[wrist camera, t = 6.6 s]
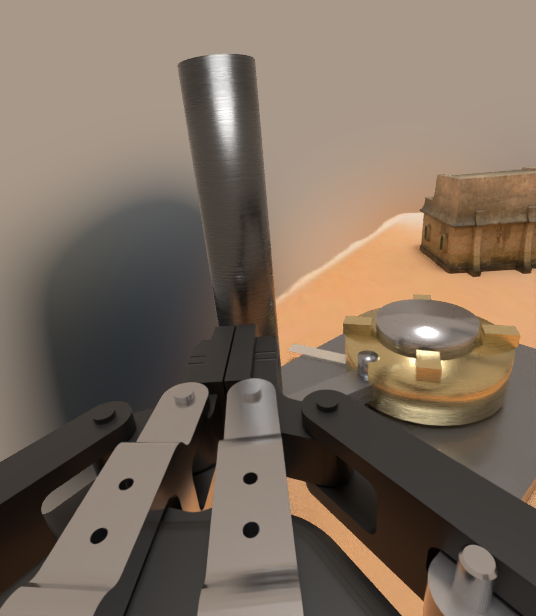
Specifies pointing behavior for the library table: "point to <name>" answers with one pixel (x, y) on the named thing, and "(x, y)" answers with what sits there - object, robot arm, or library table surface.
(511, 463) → the housing plate
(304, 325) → the library table surface
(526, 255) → the miniature house
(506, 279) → the library table surface
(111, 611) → the robot arm
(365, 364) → the rod with disc
